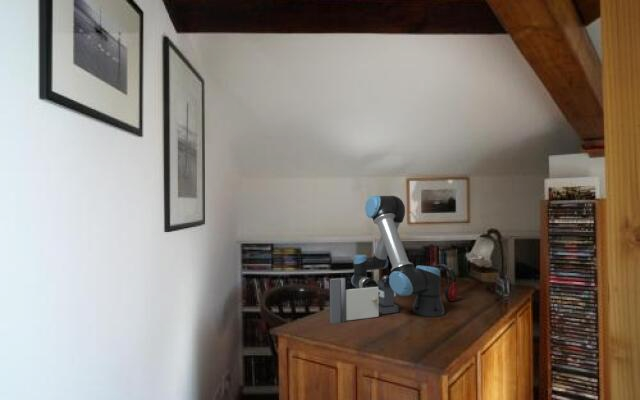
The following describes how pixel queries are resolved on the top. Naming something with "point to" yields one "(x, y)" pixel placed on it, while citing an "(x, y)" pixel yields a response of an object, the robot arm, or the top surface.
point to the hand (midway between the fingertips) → (389, 294)
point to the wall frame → (337, 300)
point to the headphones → (451, 289)
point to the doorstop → (386, 297)
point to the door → (361, 303)
